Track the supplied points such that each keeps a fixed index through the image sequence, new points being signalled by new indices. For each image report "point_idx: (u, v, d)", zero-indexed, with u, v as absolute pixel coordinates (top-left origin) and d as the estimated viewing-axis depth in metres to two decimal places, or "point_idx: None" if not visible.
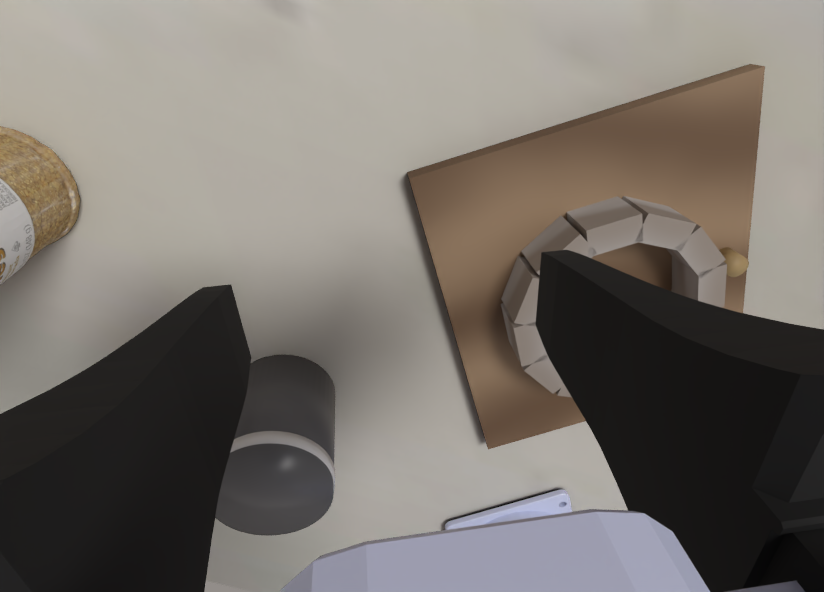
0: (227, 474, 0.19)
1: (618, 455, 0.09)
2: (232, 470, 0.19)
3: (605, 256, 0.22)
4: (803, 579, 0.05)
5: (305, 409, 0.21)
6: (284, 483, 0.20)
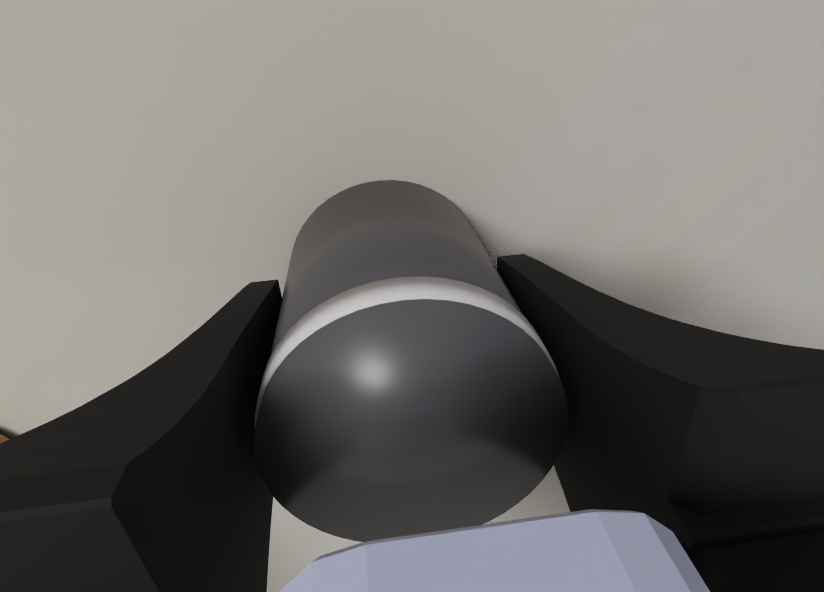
0: (313, 500, 0.08)
1: (563, 462, 0.09)
2: (303, 490, 0.08)
3: None
4: None
5: (307, 274, 0.09)
6: (383, 413, 0.08)
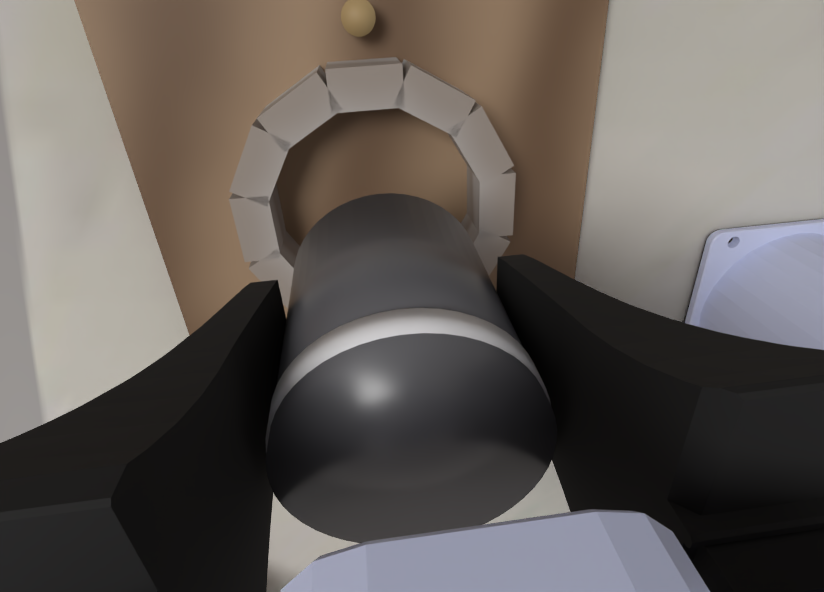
0: (321, 510, 0.09)
1: (563, 463, 0.09)
2: (312, 502, 0.09)
3: (321, 192, 0.18)
4: None
5: (310, 297, 0.10)
6: (385, 435, 0.08)
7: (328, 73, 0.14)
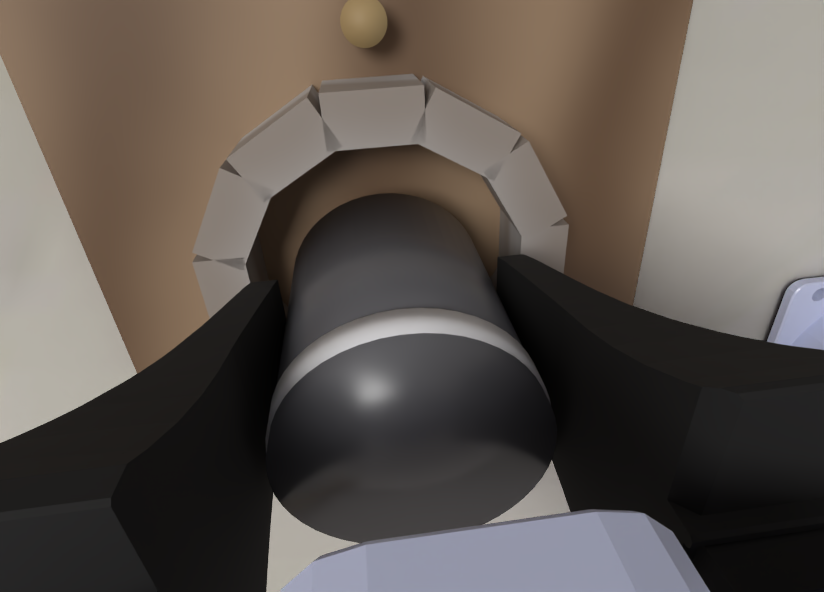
0: (321, 510, 0.09)
1: (563, 462, 0.09)
2: (312, 502, 0.09)
3: None
4: None
5: (310, 297, 0.10)
6: (385, 435, 0.08)
7: (323, 99, 0.10)
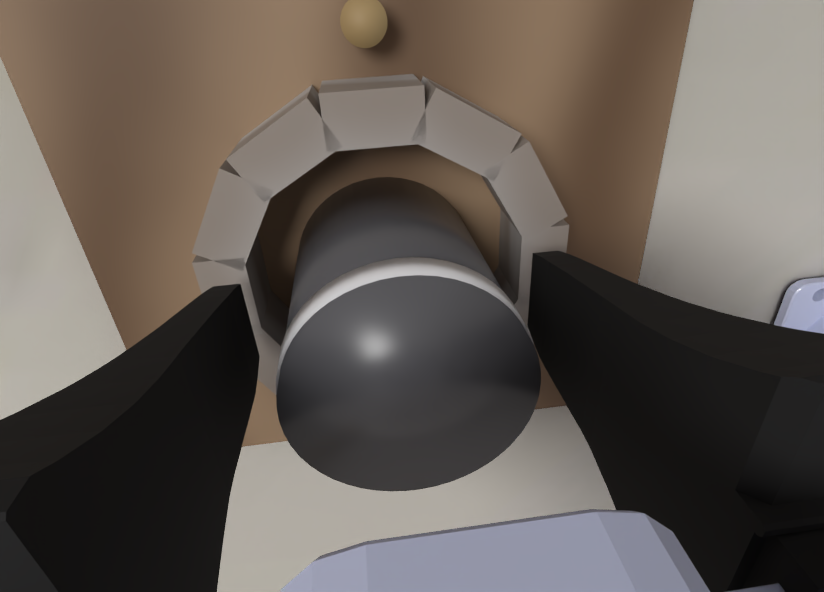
0: (326, 451, 0.10)
1: (607, 456, 0.09)
2: (318, 442, 0.10)
3: None
4: (786, 581, 0.05)
5: (316, 260, 0.11)
6: (384, 372, 0.09)
7: (323, 99, 0.10)
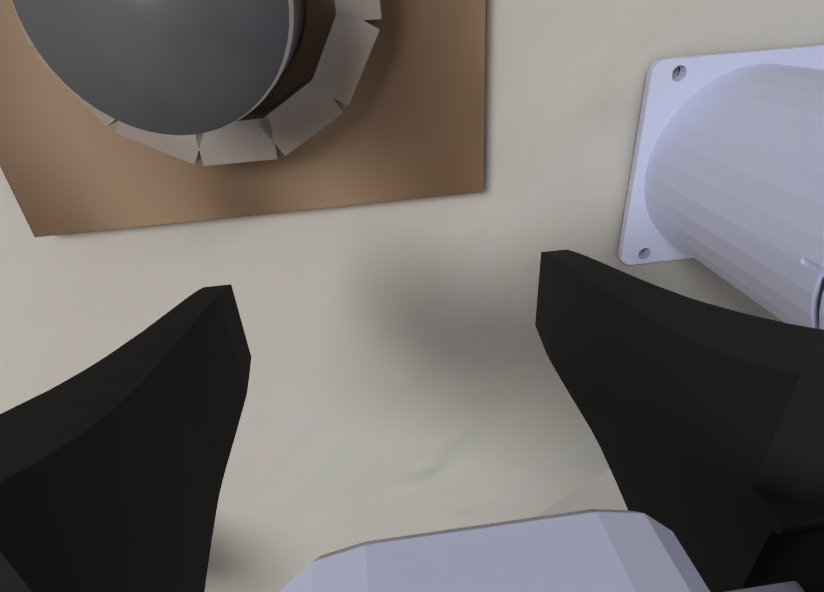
0: (78, 65, 0.10)
1: (618, 455, 0.09)
2: (66, 51, 0.10)
3: None
4: (804, 579, 0.05)
5: None
6: None
7: None
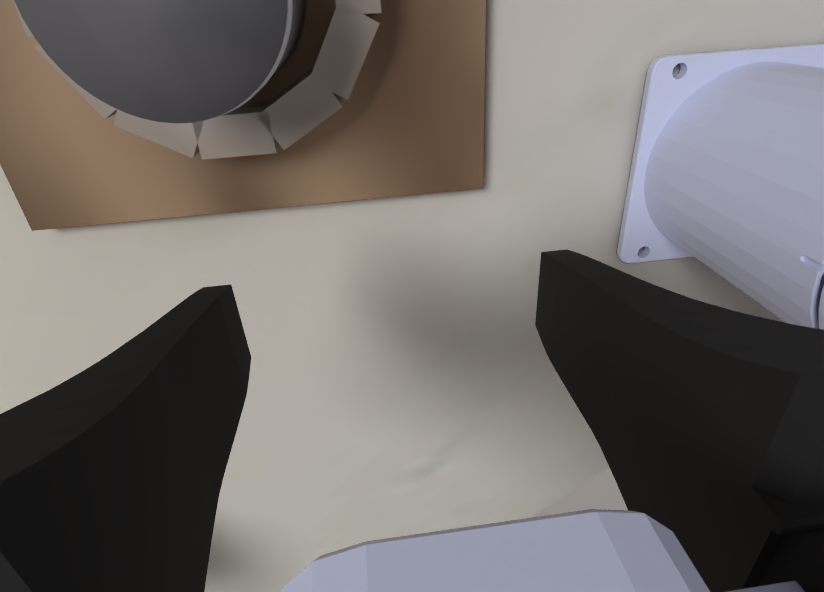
0: (75, 51, 0.10)
1: (618, 455, 0.09)
2: (63, 37, 0.10)
3: None
4: (804, 579, 0.05)
5: None
6: None
7: None
